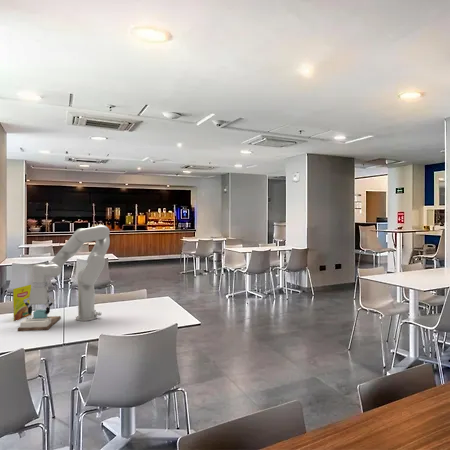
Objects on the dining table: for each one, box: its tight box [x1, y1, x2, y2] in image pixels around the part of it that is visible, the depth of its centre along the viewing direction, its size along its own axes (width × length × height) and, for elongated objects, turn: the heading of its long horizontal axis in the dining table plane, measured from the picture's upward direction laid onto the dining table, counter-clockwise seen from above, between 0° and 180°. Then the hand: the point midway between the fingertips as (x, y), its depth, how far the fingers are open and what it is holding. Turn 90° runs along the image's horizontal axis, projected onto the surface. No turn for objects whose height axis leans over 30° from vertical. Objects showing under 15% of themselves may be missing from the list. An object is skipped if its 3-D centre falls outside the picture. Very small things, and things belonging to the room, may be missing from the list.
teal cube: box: [32, 309, 48, 318], centre depth 222 cm, size 6×6×6 cm
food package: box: [12, 284, 33, 322], centre depth 235 cm, size 15×1×20 cm, turn 168°
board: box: [17, 315, 62, 332], centre depth 222 cm, size 16×24×2 cm, turn 8°
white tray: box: [19, 317, 51, 328], centre depth 215 cm, size 14×8×3 cm, turn 98°
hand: (38, 313), depth 221 cm, fingers open, 9 cm apart
